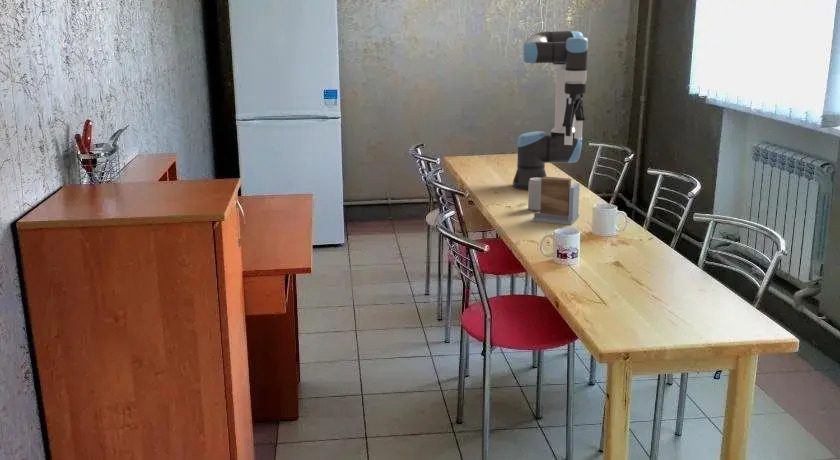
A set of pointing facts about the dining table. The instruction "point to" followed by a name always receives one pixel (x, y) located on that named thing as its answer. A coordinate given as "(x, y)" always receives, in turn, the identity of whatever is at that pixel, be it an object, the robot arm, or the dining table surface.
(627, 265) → the dining table surface
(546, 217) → the door track
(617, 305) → the dining table surface
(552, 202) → the door panel
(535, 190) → the beverage can
